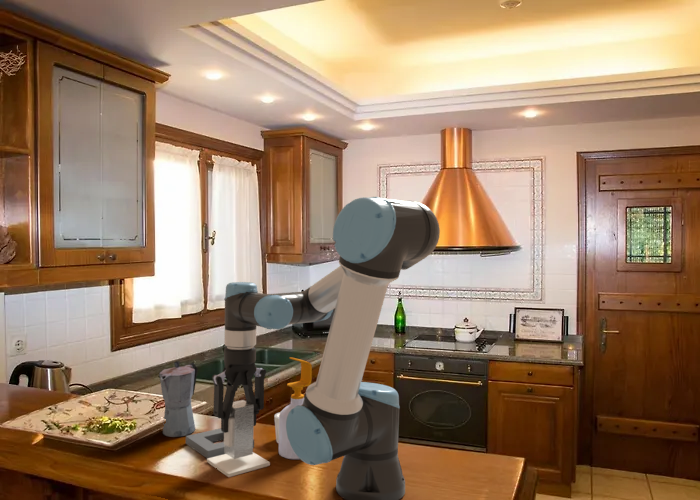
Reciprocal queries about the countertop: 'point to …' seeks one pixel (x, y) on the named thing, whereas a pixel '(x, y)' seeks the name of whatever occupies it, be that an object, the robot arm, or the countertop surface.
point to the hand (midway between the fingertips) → (238, 442)
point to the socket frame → (207, 443)
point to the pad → (237, 464)
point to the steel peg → (241, 430)
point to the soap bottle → (296, 400)
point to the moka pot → (178, 399)
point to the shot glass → (277, 426)
